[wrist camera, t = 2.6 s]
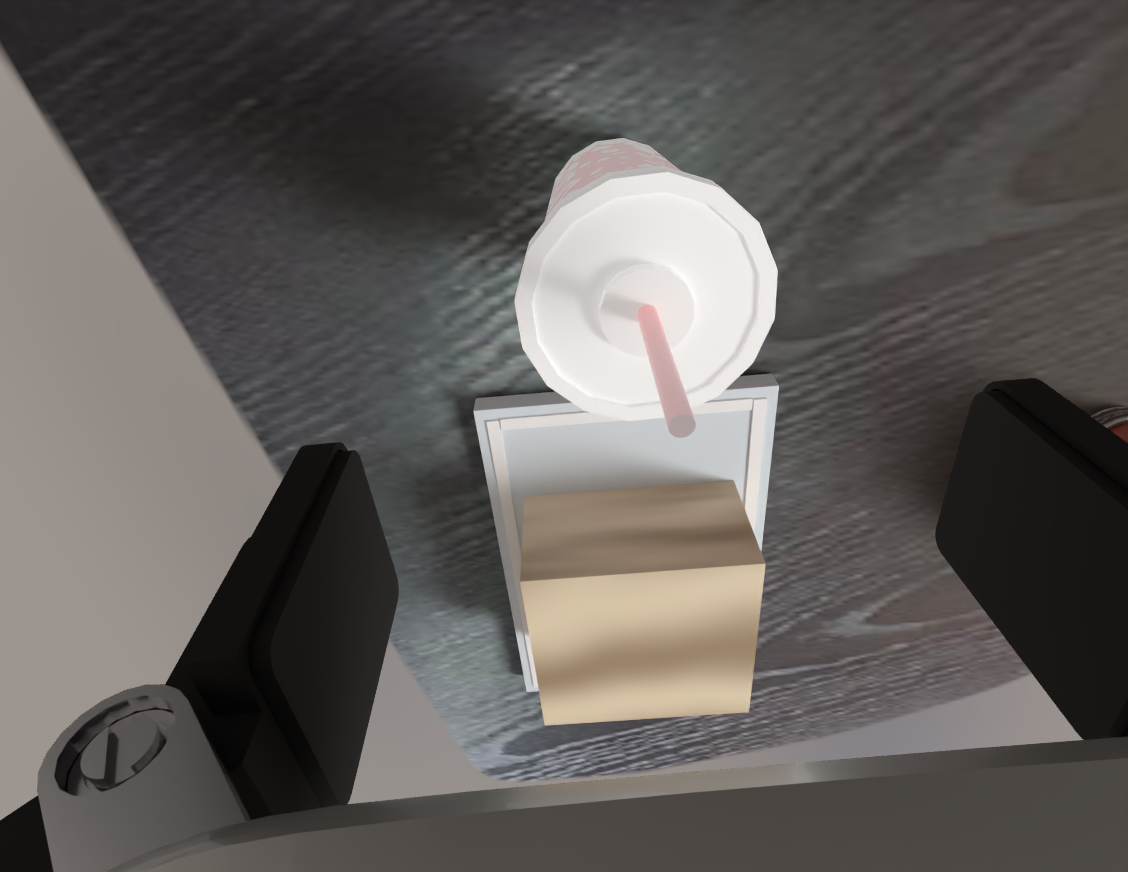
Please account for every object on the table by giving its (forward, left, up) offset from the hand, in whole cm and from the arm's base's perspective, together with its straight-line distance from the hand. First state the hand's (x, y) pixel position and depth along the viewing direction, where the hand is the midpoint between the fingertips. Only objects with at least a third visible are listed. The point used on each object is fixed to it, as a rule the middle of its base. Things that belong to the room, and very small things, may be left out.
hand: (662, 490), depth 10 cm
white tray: (+16, +1, -15) cm, 22 cm away
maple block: (+16, +1, -14) cm, 21 cm away
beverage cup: (0, +1, -16) cm, 15 cm away
